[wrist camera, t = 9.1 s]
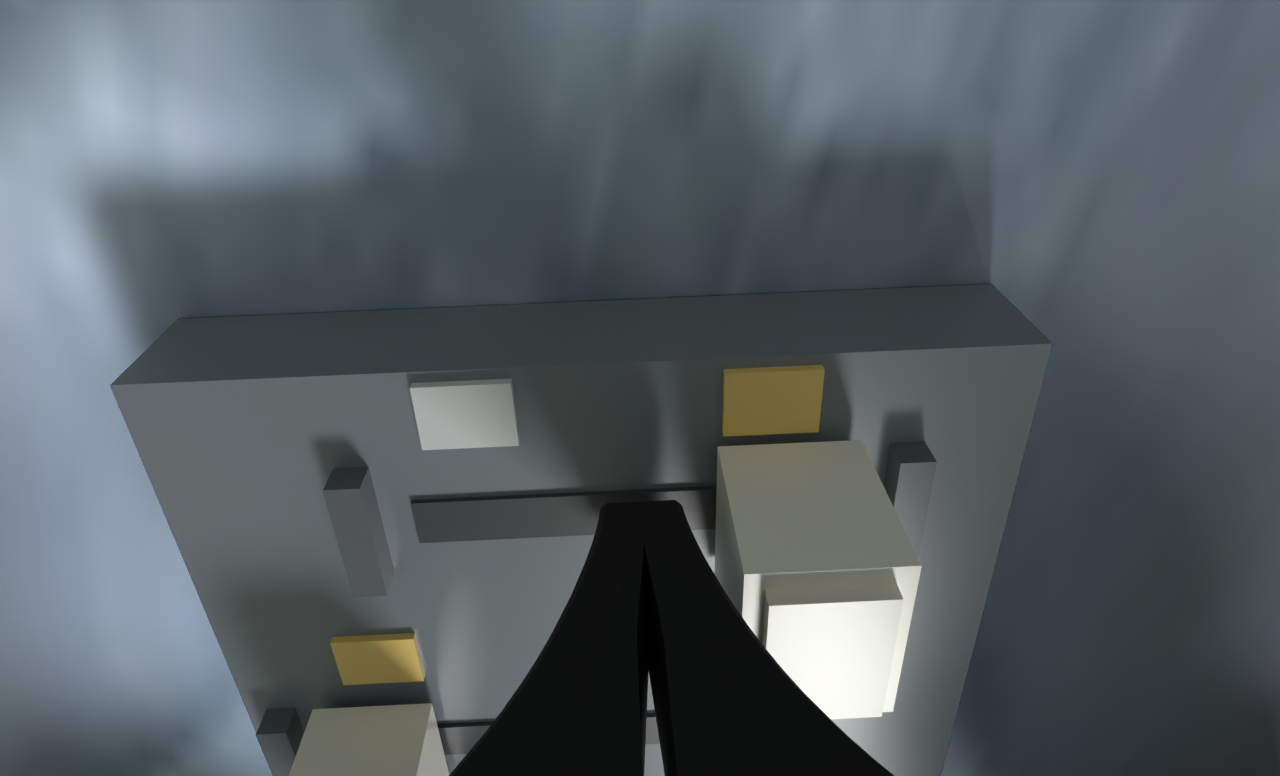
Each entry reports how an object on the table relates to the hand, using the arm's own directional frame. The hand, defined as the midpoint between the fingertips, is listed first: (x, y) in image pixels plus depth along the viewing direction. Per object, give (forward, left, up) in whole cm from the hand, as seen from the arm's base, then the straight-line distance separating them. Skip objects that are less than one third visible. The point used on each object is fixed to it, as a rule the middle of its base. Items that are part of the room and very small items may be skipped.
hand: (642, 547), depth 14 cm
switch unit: (+1, +4, -3) cm, 6 cm away
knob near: (-3, 0, -1) cm, 3 cm away
